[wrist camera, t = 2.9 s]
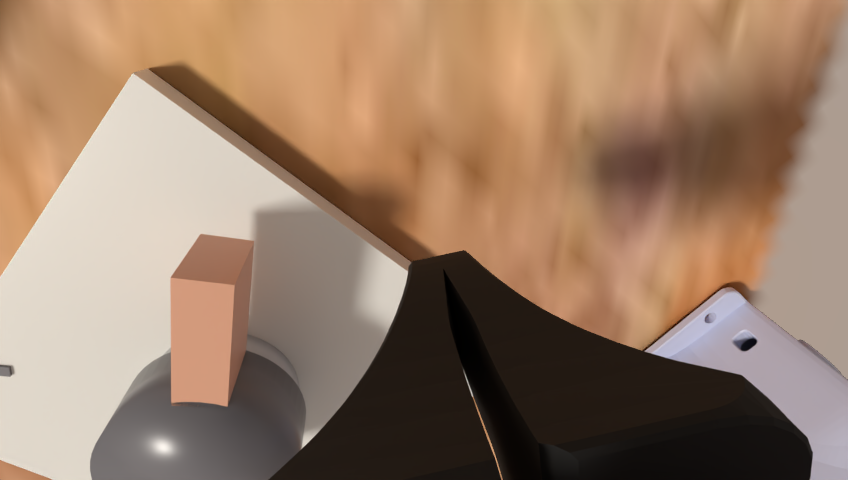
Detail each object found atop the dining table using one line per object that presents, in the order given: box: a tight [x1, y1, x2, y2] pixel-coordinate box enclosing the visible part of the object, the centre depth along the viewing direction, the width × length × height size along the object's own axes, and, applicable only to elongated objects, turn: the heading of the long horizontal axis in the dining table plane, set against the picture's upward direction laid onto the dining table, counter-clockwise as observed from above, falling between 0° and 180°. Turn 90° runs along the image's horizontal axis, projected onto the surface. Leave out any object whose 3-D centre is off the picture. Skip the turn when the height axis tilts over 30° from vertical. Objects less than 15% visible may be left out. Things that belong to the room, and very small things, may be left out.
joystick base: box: [0, 69, 473, 480], centre depth 18 cm, size 16×16×2 cm
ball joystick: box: [90, 234, 306, 480], centre depth 15 cm, size 10×6×2 cm, turn 168°
